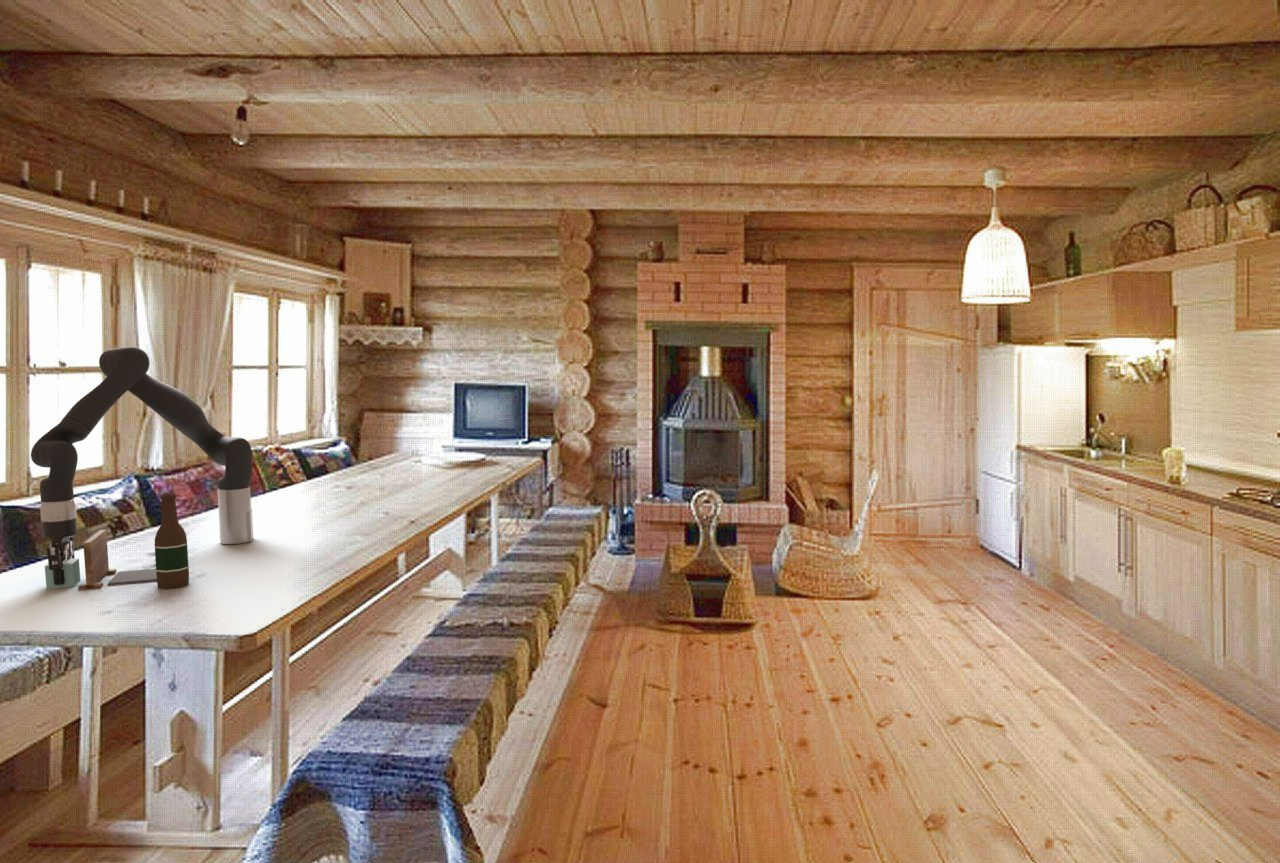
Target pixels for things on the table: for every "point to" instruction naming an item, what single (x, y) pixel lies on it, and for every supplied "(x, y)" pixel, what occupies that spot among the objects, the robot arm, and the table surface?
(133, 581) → the mat
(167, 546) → the beer bottle
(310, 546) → the table surface
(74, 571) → the letter cube
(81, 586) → the wooden footed board
